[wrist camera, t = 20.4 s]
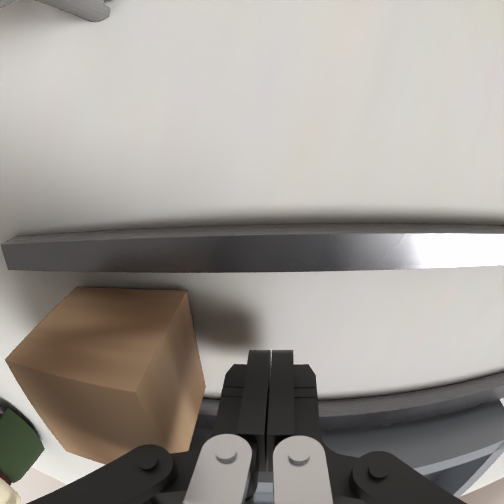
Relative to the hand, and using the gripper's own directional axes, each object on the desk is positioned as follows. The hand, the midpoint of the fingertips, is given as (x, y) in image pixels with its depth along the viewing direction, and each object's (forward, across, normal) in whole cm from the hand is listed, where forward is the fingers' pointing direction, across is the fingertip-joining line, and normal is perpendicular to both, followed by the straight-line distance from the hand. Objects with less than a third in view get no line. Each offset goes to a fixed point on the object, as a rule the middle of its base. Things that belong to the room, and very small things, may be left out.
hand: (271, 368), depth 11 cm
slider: (+1, +6, 0) cm, 6 cm away
